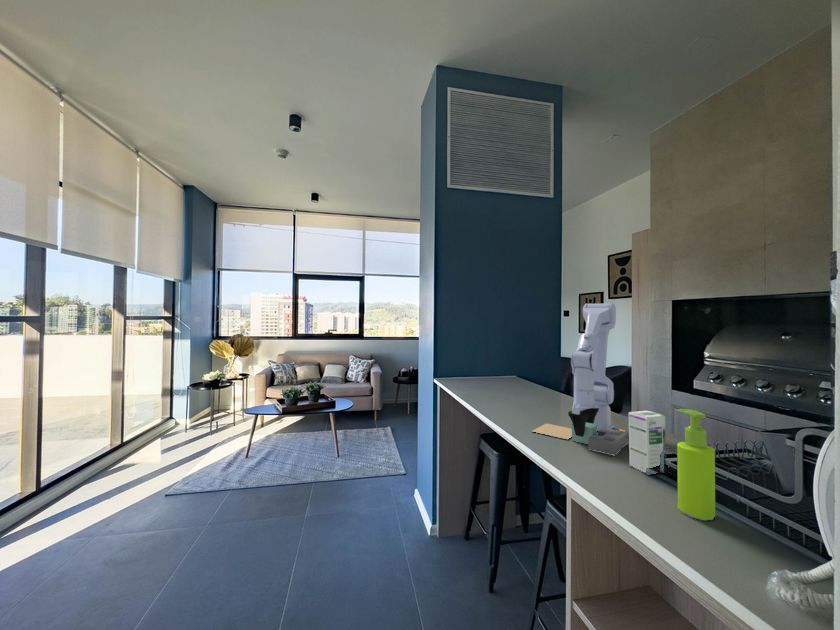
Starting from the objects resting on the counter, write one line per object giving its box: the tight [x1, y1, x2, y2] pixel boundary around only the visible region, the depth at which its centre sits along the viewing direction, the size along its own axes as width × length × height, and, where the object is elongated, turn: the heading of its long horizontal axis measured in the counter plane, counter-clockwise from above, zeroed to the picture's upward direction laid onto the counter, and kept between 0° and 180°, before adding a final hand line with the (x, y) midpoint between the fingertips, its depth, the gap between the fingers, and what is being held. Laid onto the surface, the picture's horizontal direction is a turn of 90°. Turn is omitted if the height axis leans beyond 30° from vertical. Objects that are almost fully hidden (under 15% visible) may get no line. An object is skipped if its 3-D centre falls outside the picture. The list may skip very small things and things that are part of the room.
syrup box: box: [628, 410, 667, 472], centre depth 90 cm, size 6×6×14 cm
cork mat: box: [531, 422, 572, 440], centre depth 120 cm, size 12×12×1 cm
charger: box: [571, 422, 598, 444], centre depth 110 cm, size 5×8×6 cm, turn 47°
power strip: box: [587, 428, 629, 455], centre depth 106 cm, size 14×7×4 cm, turn 137°
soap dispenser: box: [676, 408, 716, 519], centre depth 71 cm, size 6×7×20 cm
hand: (583, 432), depth 111 cm, fingers open, 7 cm apart
